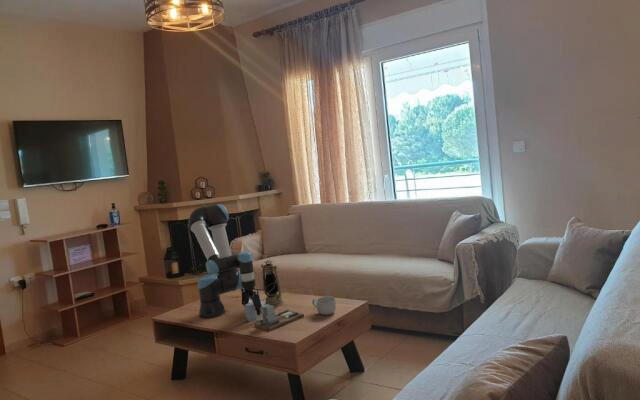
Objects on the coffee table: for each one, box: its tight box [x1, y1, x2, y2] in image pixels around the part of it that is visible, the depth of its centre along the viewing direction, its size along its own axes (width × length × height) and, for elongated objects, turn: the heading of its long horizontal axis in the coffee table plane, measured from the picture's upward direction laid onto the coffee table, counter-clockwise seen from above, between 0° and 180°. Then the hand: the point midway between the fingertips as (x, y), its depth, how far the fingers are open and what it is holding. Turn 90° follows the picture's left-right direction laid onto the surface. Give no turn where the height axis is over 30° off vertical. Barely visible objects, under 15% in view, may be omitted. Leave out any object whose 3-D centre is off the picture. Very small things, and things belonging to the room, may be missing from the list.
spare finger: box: [244, 301, 256, 322], centre depth 263 cm, size 4×6×9 cm
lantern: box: [260, 259, 285, 309], centre depth 283 cm, size 14×12×30 cm
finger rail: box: [253, 303, 305, 332], centre depth 253 cm, size 14×23×10 cm, turn 132°
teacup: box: [311, 295, 337, 316], centre depth 258 cm, size 14×11×8 cm
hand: (253, 318), depth 263 cm, fingers open, 9 cm apart
